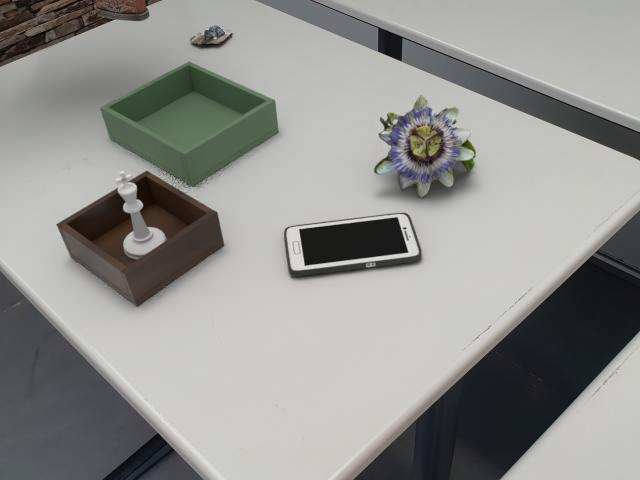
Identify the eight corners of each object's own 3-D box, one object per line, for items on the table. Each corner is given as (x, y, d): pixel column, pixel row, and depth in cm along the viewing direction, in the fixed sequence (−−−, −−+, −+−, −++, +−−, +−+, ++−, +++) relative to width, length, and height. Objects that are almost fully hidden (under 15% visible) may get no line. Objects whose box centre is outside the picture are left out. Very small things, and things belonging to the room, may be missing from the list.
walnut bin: (70, 256, 79) (55, 224, 76) (156, 202, 85) (146, 170, 82) (137, 307, 73) (124, 274, 70) (224, 245, 79) (217, 212, 76)
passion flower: (420, 228, 88) (369, 181, 79) (401, 166, 93) (352, 116, 84) (501, 182, 83) (456, 127, 74) (475, 119, 88) (431, 61, 79)
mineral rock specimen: (187, 49, 112) (185, 38, 110) (195, 27, 117) (193, 15, 116) (228, 48, 111) (227, 36, 110) (235, 25, 117) (233, 14, 115)
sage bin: (109, 138, 95) (99, 107, 92) (195, 91, 103) (188, 61, 99) (192, 186, 87) (184, 154, 83) (279, 131, 94) (275, 99, 91)
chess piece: (173, 249, 78) (152, 176, 71) (132, 265, 77) (106, 192, 69) (158, 225, 81) (136, 153, 74) (118, 241, 79) (91, 168, 72)
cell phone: (283, 232, 80) (282, 226, 79) (408, 217, 81) (409, 211, 80) (289, 279, 75) (288, 272, 74) (423, 262, 75) (423, 255, 75)
